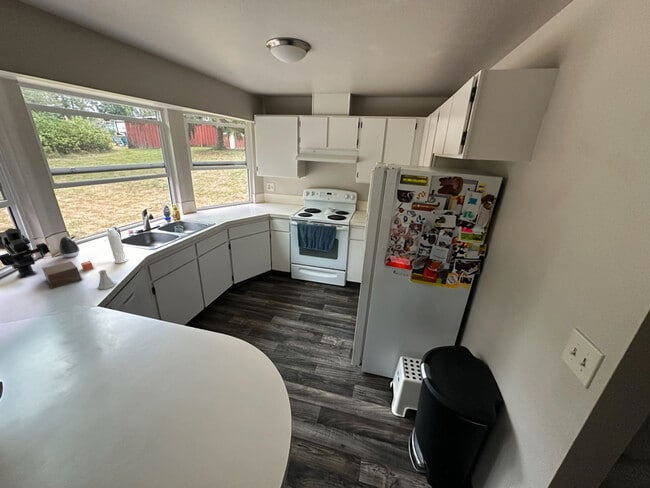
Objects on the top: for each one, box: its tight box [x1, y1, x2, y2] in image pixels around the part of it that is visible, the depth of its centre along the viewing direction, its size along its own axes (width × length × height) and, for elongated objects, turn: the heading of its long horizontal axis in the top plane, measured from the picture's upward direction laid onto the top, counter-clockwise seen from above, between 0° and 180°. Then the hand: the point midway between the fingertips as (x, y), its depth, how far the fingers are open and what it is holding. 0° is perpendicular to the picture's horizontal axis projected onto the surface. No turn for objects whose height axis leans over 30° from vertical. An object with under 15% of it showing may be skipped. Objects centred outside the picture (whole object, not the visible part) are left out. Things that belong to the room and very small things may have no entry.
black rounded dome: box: [58, 235, 81, 258], centre depth 182 cm, size 10×10×15 cm
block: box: [80, 260, 94, 272], centre depth 165 cm, size 4×4×4 cm
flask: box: [97, 269, 116, 290], centre depth 144 cm, size 7×7×10 cm
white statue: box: [106, 227, 127, 264], centre depth 173 cm, size 9×6×25 cm
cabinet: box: [41, 260, 83, 289], centre depth 150 cm, size 15×13×9 cm
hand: (31, 260), depth 140 cm, fingers open, 9 cm apart
